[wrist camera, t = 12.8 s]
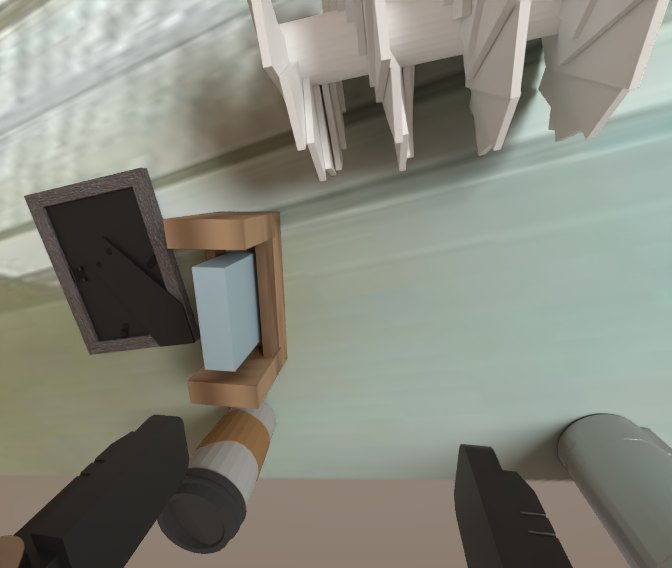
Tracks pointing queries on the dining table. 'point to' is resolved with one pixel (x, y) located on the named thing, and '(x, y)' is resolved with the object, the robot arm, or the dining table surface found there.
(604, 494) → the robot arm
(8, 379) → the dining table surface
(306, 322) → the dining table surface
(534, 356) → the dining table surface
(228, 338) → the door panel
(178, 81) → the dining table surface
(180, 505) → the coffee cup
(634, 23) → the spiral staircase
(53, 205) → the picture frame
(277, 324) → the track
